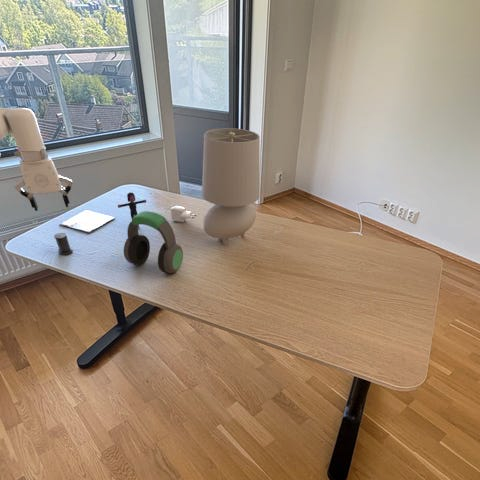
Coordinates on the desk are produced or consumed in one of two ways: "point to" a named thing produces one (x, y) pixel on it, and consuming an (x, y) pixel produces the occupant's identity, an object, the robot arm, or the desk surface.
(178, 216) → the power adapter
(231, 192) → the table lamp
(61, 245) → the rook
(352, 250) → the desk surface
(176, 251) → the headphones
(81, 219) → the board
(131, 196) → the figurine
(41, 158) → the robot arm
